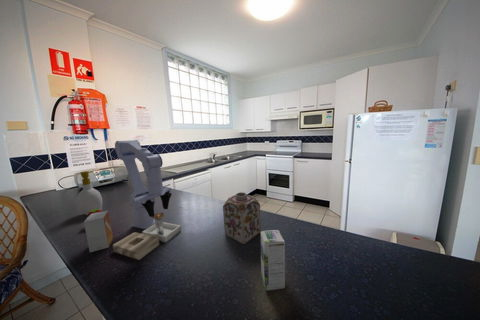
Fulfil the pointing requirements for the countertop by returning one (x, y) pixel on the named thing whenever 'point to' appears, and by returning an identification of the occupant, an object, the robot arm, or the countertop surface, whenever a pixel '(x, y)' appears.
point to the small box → (98, 231)
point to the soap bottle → (88, 195)
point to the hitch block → (136, 245)
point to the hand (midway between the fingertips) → (159, 212)
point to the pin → (159, 223)
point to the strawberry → (94, 211)
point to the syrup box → (273, 259)
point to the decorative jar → (242, 217)
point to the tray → (169, 231)
